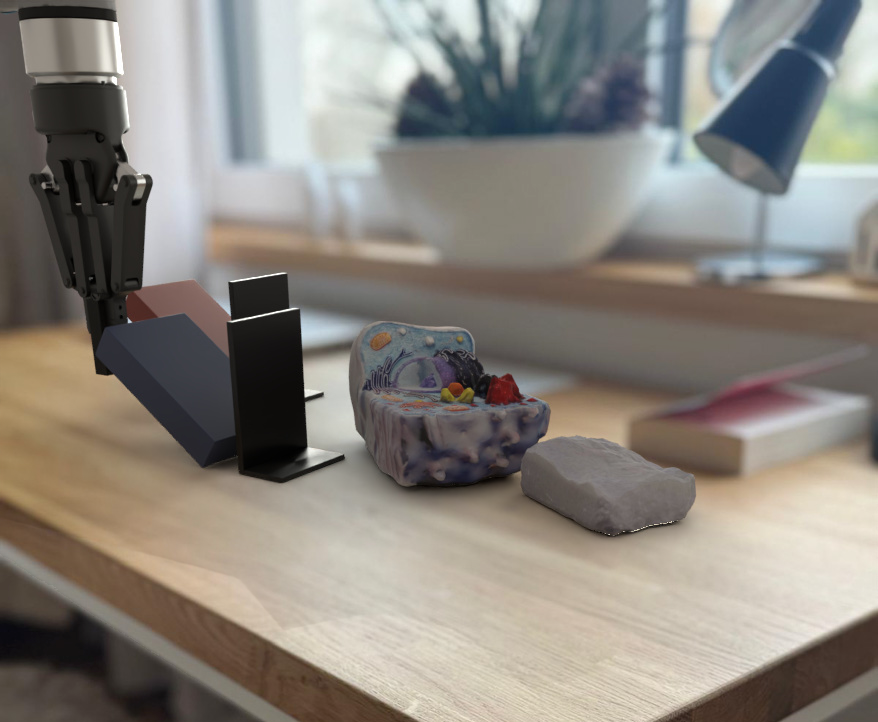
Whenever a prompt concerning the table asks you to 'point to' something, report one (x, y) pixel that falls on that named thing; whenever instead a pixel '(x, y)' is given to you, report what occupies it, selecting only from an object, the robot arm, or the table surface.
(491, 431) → the cell model
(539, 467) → the stone block
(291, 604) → the table surface
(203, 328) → the maroon book
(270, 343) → the black book support
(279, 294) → the black bookend
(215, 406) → the navy book
